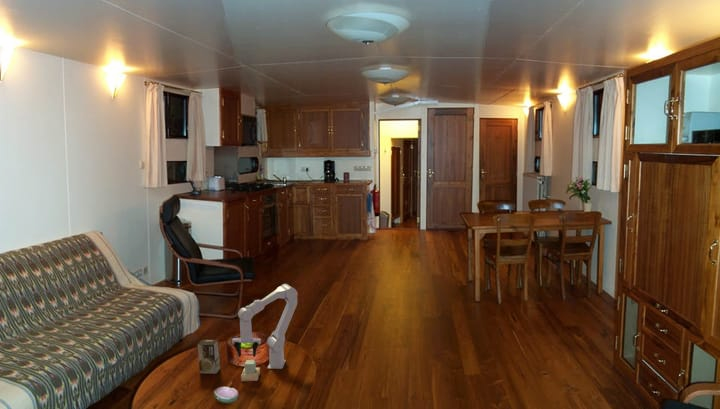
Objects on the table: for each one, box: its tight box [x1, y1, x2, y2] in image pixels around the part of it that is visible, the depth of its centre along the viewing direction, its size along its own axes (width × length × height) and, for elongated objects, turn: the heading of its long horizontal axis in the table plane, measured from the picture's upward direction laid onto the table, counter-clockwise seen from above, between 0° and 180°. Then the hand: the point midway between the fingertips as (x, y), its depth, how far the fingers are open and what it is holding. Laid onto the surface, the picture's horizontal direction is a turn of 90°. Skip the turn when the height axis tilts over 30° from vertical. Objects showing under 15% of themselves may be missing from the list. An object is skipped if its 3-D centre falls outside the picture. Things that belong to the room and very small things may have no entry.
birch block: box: [240, 367, 261, 382], centre depth 256 cm, size 8×8×4 cm
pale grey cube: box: [244, 359, 257, 374], centre depth 256 cm, size 5×5×5 cm
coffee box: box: [197, 339, 221, 375], centre depth 263 cm, size 9×6×16 cm
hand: (247, 356), depth 259 cm, fingers open, 7 cm apart
